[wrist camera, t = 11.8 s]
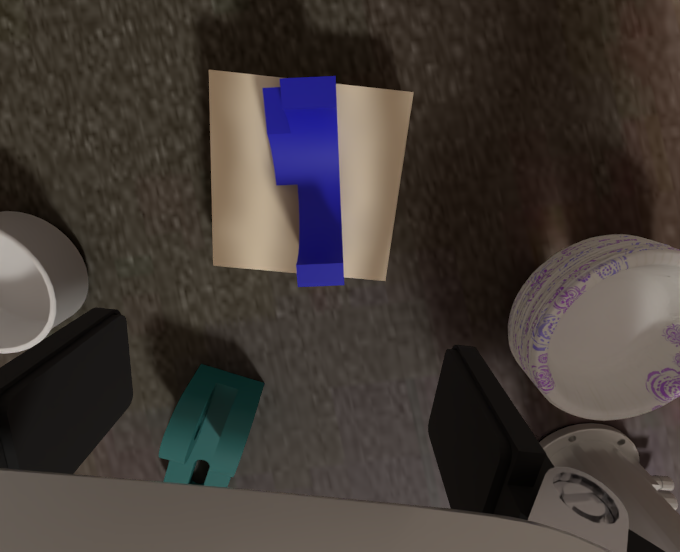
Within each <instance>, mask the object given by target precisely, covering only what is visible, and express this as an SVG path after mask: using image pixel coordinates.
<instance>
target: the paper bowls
mask: <svg viewBox="0 0 680 552" xmlns="http://www.w3.org/2000/svg"><path fill="white" fill-rule="evenodd" d="M508 340H509V347H510V350H511V352H512V354H513V356H514V358H515V360H516V362H517V363H518V364H519V366H520V367H521V368H522V369H523V371H524V372H525V373H526V374H527V376H528V377H529V378H530V380H531V381H532V382H533V383H534V384H535V386H536V387H537V388H538V389H539V391H540V392H541V393H542V394H543V395H544V397H545V398H546V399H547V400H548V401H549V402H550V403H551V404H553V405H554V406H556V407H557V408H559V409H561V410H562V411H565V412H566V413H569V414H572V415H574V416H577V417H581V418H585V419H591V420H602V421H607V420H618V419H624V418H629V417H634V416H638V415H641V414H644V413H647V412H650V411H653V410H655V409H657V408H659V407H661V406H663V405H665V404H667V403H669V402H671V401H672V400H674V399H676V398H677V397H679V396H680V250H679V249H676V248H673V247H671V246H669V245H666V244H663V243H658V242H656V241H653V240H649V239H646V238H642V237H639V236H633V235H626V234H611V235H604V236H597V237H592V238H589V239H586V240H582V241H580V242H578V243H575V244H573V245H571V246H569V247H567V248H565V249H563V250H561V251H559V252H557V253H556V254H554V255H553V256H552V257H550V258H549V259H548V260H547V261H546V262H544V263H543V264H542V265H541V266H539V267H538V268H537V269H536V270H535V271H534V272H533V273H532V274H531V276H530V277H529V278H528V280H527V281H526V282H525V283H524V285H523V286H522V288H521V289H520V291H519V293H518V294H517V296H516V298H515V300H514V302H513V305H512V308H511V312H510V316H509V321H508Z"/></svg>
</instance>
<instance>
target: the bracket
mask: <svg viewBox="0 0 680 552" xmlns="http://www.w3.org/2000/svg"><path fill="white" fill-rule="evenodd" d="M263 386H264V383H263V382H259V381H256V380H253V379H250V378H246V377H243V376H240V375H236V374H233V373H230V372H226V371H223V370H220V369H217V368H213V367H210V366H207V365H203V364H201V365H200V366H199V368H198V370H197V371H196V373H195V375H194V376H193V378H192V379H191V381H190V383H189V384H188V386H187V388H186V389H185V391H184V392H183V394H182V396H181V398H180V400H179V402H178V404H177V406H176V408H175V410H174V412H173V414H172V417H171V419H170V421H169V424H168V426H167V429H166V431H165V434H164V437H163V440H162V443H161V446H160V450H159V458H163V459H167V460H170V461H169V464H168V468H167V471H166V475H165V478H164V482H171V483H182V484H194V485H205V486H216V487H227V486H228V484H229V481H230V478H231V477H234V474H235V472H236V469H237V467H238V464H239V461H240V458H241V455H242V453H243V450H244V447H245V444H246V441H247V438H248V435H249V432H250V429H251V426H252V423H253V419H254V416H255V413H256V410H257V406H258V403H259V400H260V396H261V393H262V390H263ZM197 460H205V461H207V462H208V463H209V465H210V468H209V471H208V474H207V477H206V480H205V482H204V483H202V484H198V483H195V482H194V481H193V480H192V475H193V472H194V468H195V465H196V462H197Z"/></svg>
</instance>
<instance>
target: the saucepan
mask: <svg viewBox="0 0 680 552" xmlns="http://www.w3.org/2000/svg"><path fill="white" fill-rule="evenodd" d="M87 292H88V274H87V268H86V266H85V263H84V261H83V258H82V256H81V255H80V253H79V251H78V250H77V248H76V247H75V245H74V244H73V243H72V242H71V241H70V240H69V238H68V237H67V236H66V235H64V234H63V233H62V232H61V231H60V230H59V229H57V228H56V227H55V226H53V225H51V224H50V223H48V222H47V221H45V220H43V219H40V218H38V217H36V216H33V215H30V214H26V213H22V212H14V211H3V212H0V353H14V352H20V351H23V350H26V349H29V348H31V347H33V346H34V345H36V344H38V343H39V342H41V341H42V340H43V339H44V338H45V336H46V335H47V334H48V333H49V331H50V329H52V328H53V327H55V326H56V325H58V324H59V323H61V322H63V321H64V320H66V319H67V318H69V317H70V316H72V315H73V314H75V313H76V312H77V311H78V310H79V309H80V308H81V306H82V304H83V303H84V301H85V299H86V296H87Z"/></svg>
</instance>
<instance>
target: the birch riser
mask: <svg viewBox="0 0 680 552" xmlns="http://www.w3.org/2000/svg"><path fill="white" fill-rule="evenodd" d="M271 87H280V77H271V76H262V75H253V74H244V73H235V72H226V71H217V70H209V104H210V147H211V189H212V232H213V266H223V267H234V268H246V269H257V270H268V271H279V272H290V273H297V270H296V263H297V259H298V251H299V199H298V185H277V186H276V178H275V170H274V164H273V158H272V152H271V147H270V143H269V139H268V135H267V127H266V118H265V108H264V98H263V89H262V88H271ZM413 93H414V92H407V91H398V90H389V89H380V88H371V87H362V86H353V85H344V84H336V98H337V124H338V149H339V173H340V197H341V221H342V244H343V266H344V277H347V278H358V279H369V280H380V281H385V279H386V272H387V266H388V259H389V252H390V246H391V239H392V232H393V226H394V219H395V212H396V206H397V199H398V193H399V186H400V179H401V173H402V166H403V159H404V153H405V146H406V139H407V133H408V126H409V119H410V113H411V106H412V99H413Z"/></svg>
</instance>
